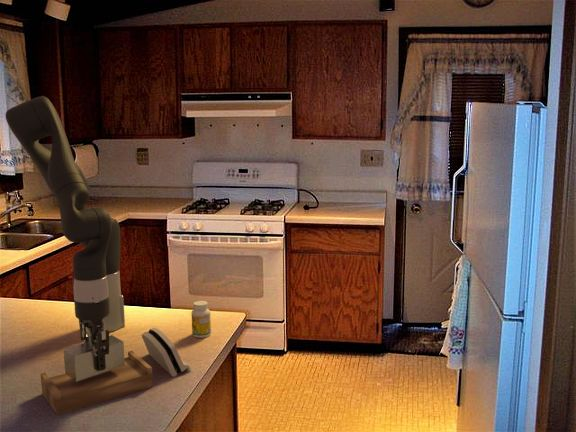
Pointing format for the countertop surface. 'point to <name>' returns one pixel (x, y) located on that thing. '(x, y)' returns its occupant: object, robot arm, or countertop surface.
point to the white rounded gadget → (164, 351)
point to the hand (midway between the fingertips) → (95, 364)
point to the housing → (92, 359)
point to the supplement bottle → (201, 320)
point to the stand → (96, 385)
